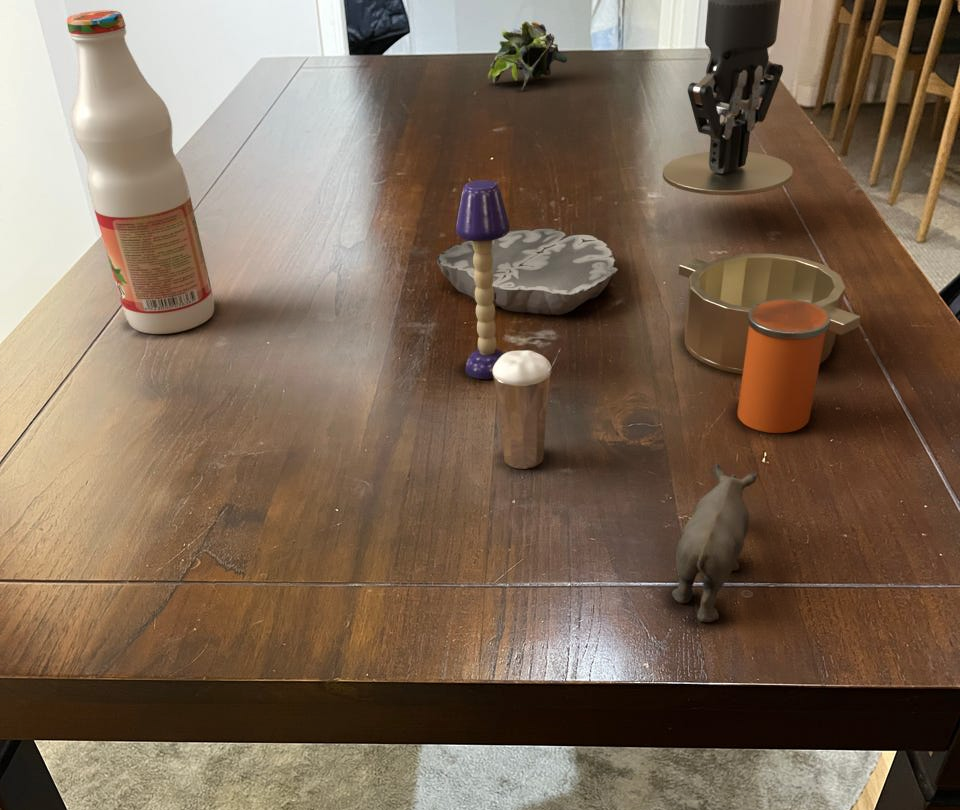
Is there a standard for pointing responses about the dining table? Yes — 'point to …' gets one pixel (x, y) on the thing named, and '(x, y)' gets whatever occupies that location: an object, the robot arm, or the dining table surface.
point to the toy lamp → (483, 265)
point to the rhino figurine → (713, 541)
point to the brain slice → (536, 270)
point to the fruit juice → (137, 183)
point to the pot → (753, 302)
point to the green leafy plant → (526, 53)
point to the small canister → (781, 364)
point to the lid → (728, 172)
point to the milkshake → (522, 405)
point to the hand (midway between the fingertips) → (727, 167)
